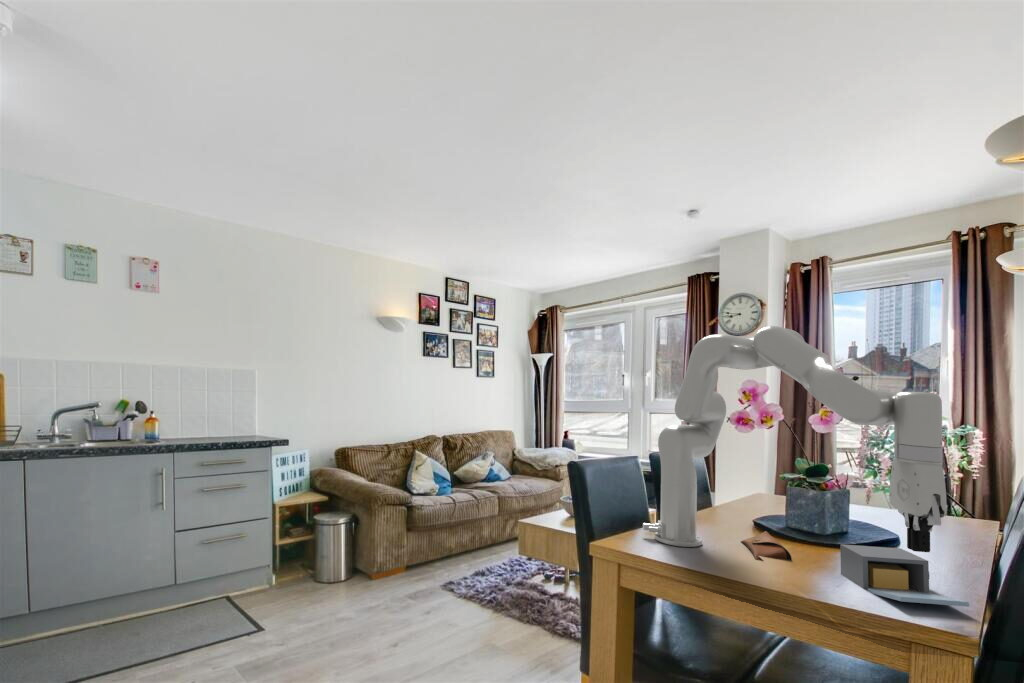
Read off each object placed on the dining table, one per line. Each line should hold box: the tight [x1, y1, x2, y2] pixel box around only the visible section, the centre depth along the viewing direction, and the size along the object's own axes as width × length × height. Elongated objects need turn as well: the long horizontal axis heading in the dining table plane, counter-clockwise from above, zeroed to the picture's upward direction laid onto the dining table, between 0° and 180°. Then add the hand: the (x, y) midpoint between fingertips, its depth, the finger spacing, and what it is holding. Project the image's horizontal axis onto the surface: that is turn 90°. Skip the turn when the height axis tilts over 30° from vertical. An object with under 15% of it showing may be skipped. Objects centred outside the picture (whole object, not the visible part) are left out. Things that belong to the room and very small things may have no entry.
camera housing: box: [839, 543, 930, 593], centre depth 115 cm, size 15×9×7 cm, turn 84°
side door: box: [867, 587, 970, 608], centre depth 104 cm, size 12×1×11 cm
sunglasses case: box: [740, 530, 793, 561], centre depth 138 cm, size 18×7×7 cm
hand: (918, 550), depth 102 cm, fingers closed
